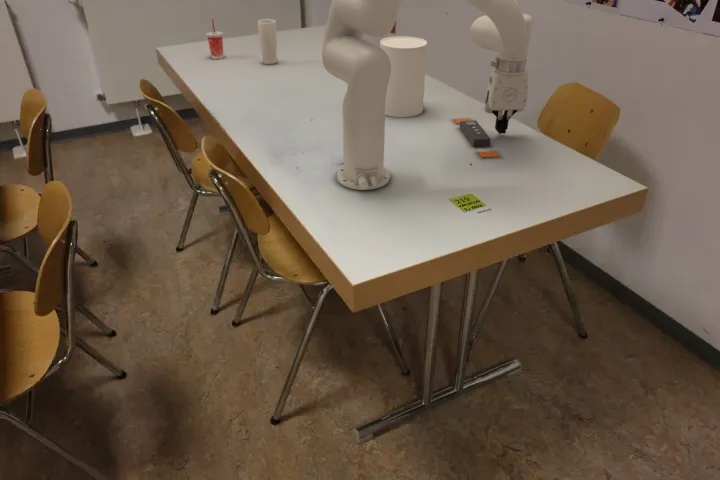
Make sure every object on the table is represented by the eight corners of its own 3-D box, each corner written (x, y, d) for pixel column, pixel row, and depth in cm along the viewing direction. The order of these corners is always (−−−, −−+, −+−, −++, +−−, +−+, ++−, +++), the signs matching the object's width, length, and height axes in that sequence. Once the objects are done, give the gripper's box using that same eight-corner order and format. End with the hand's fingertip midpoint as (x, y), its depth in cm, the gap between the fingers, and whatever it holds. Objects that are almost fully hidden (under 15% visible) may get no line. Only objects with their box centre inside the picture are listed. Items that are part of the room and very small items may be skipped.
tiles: (499, 157, 147) (499, 155, 147) (482, 158, 146) (482, 157, 146) (469, 119, 168) (469, 118, 168) (453, 120, 168) (454, 119, 168)
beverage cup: (208, 55, 223) (203, 18, 215) (224, 54, 224) (220, 17, 217) (210, 60, 218) (204, 21, 210) (226, 58, 219) (221, 20, 212)
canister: (371, 104, 178) (372, 38, 167) (411, 99, 182) (414, 34, 171) (388, 119, 168) (391, 50, 157) (430, 113, 172) (435, 45, 161)
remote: (489, 146, 152) (491, 137, 151) (473, 147, 152) (474, 138, 150) (475, 127, 163) (476, 119, 162) (459, 128, 163) (460, 120, 161)
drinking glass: (258, 61, 217) (254, 20, 208) (275, 59, 219) (272, 18, 211) (264, 66, 211) (260, 24, 203) (281, 64, 214) (278, 22, 206)
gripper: (487, 70, 143) (478, 138, 153) (544, 68, 145) (531, 135, 155) (478, 61, 150) (470, 128, 160) (532, 59, 151) (521, 125, 161)
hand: (500, 131), depth 157 cm, fingers closed
